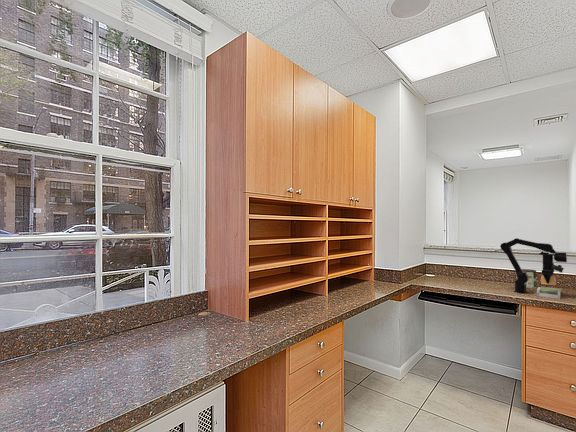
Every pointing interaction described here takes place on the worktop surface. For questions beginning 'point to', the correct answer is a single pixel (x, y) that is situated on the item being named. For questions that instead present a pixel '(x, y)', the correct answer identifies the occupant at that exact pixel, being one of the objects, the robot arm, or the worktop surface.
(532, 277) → the coffee can
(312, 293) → the worktop surface
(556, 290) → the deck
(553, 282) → the orange stepped block
